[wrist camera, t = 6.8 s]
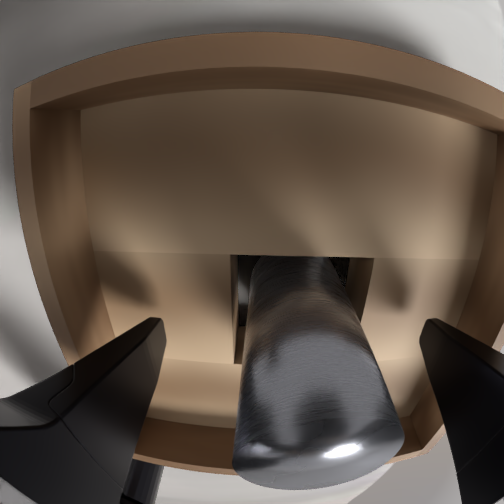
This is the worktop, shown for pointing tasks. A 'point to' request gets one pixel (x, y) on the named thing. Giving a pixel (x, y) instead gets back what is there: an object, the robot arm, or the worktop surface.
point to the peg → (309, 383)
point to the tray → (259, 209)
